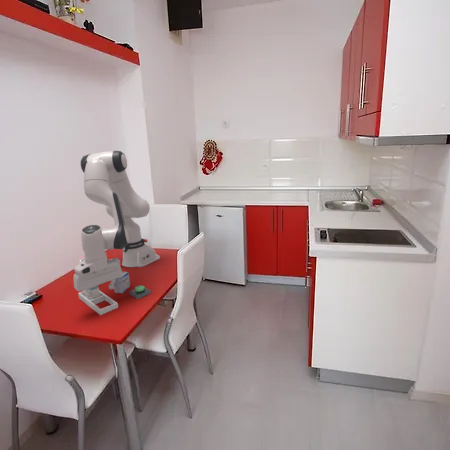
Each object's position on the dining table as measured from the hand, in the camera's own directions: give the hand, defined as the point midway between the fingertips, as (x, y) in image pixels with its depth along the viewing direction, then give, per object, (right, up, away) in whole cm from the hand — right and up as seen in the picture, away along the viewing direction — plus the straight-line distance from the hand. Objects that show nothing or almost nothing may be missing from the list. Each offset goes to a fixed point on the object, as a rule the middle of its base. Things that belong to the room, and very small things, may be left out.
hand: (101, 292), depth 142 cm
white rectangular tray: (-4, -6, +6) cm, 10 cm away
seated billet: (-8, -6, +10) cm, 14 cm away
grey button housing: (+14, -4, +11) cm, 19 cm away
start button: (+14, -4, +11) cm, 19 cm away
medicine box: (+4, -3, +18) cm, 19 cm away
